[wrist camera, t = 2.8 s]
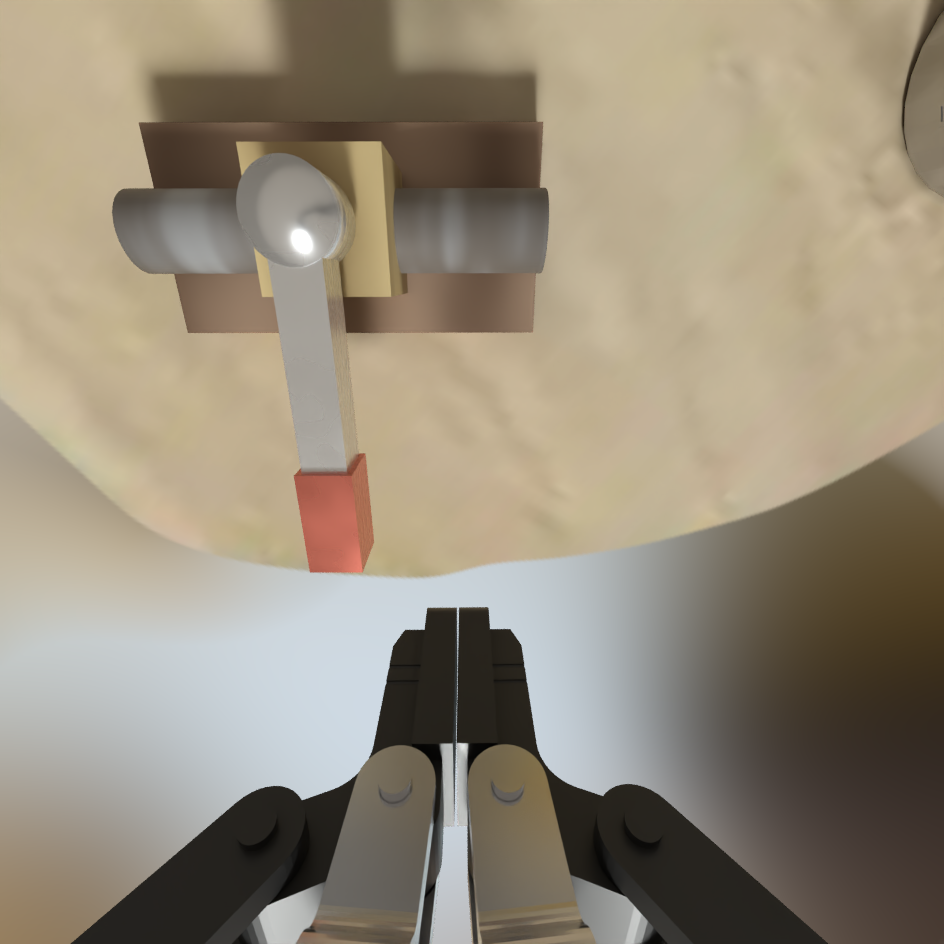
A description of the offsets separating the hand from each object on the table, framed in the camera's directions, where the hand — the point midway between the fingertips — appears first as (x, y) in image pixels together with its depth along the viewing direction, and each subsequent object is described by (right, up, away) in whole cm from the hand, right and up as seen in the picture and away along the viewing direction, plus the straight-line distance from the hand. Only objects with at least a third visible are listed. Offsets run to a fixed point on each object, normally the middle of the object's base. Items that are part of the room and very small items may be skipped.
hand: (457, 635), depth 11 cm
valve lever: (-5, +7, +6) cm, 10 cm away
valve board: (-5, +15, +10) cm, 19 cm away
